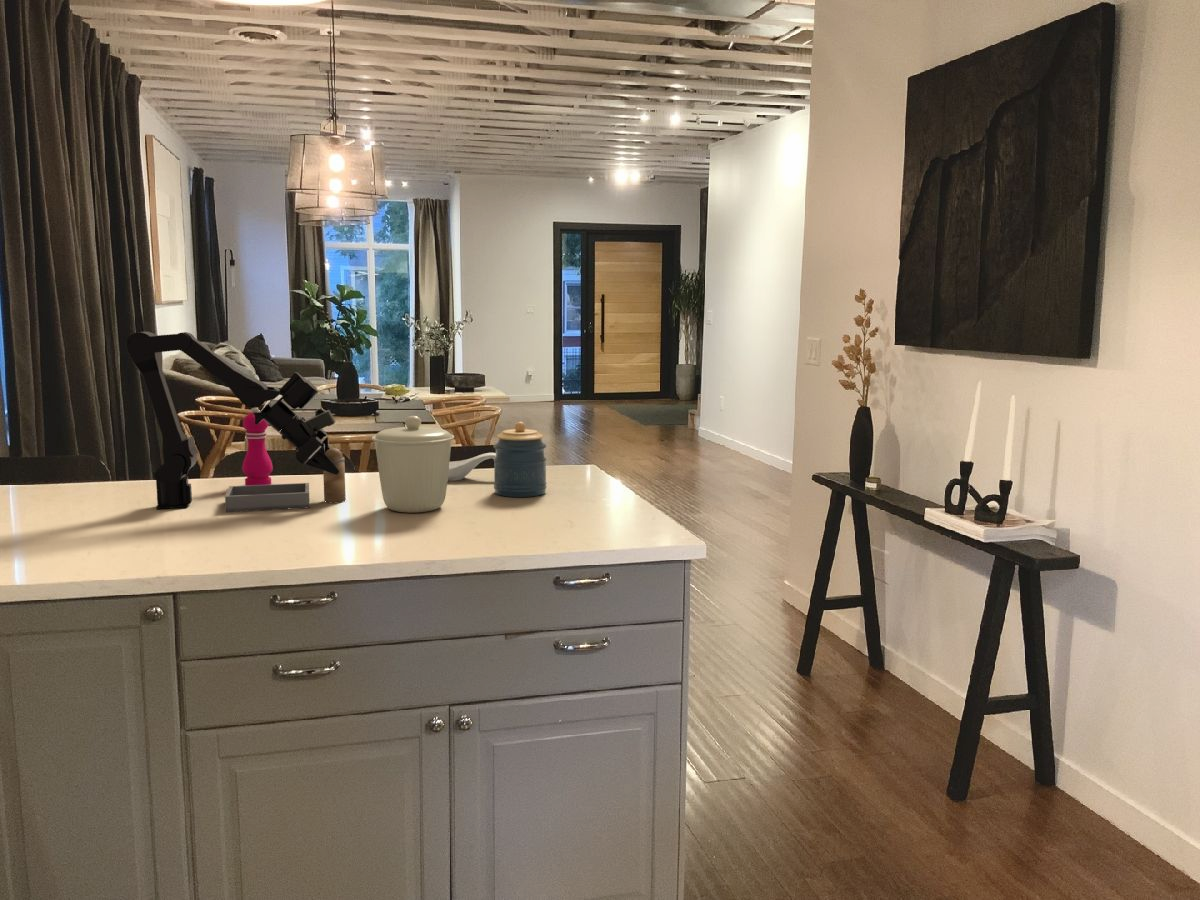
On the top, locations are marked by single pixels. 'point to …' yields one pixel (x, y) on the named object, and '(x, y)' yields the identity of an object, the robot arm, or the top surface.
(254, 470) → the pepper mill
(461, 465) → the spoon rest
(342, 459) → the shaker
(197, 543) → the top surface
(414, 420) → the canister
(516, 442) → the canister
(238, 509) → the dish
